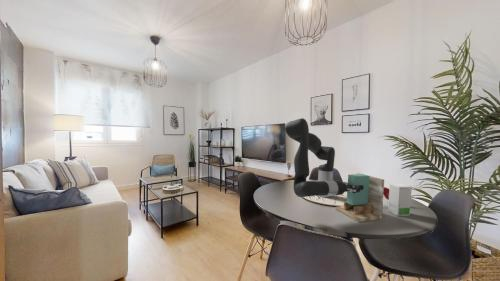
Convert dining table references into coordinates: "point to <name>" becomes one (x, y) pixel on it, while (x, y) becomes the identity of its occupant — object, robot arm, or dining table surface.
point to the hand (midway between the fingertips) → (359, 186)
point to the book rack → (367, 210)
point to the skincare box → (399, 199)
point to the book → (360, 196)
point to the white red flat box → (387, 193)
